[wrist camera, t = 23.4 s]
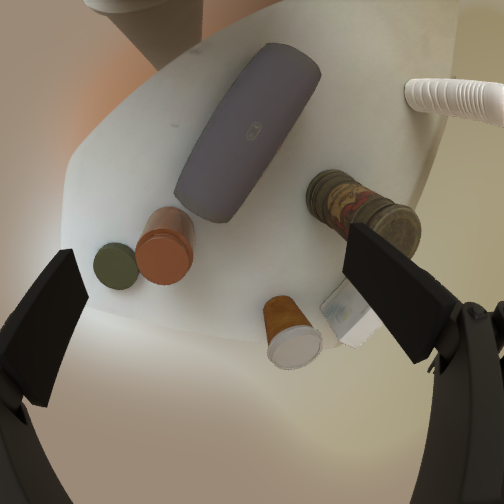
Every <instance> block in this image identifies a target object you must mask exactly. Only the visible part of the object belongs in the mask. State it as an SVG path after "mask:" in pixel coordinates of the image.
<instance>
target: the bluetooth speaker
mask: <svg viewBox="0 0 504 504" xmlns="http://www.w3.org/2000/svg"><path fill="white" fill-rule="evenodd" d="M320 78H321V72H320V69H319V67H318V65H317V64H316V63H315V62H314V61H313V60H312V59H311V58H309V57H308V56H307V55H306V54H304V53H303V52H301V51H299V50H297V49H296V48H294V47H291V46H289V45H285V44H279V43H267V44H266V45H265V46H264V47H263V48H262V49H261V50H260V51H259V52H258V53H257V54H256V55H255V56H254V57H253V59H252V60H251V61H250V62H249V64H248V65H247V66H246V67H245V69H244V70H243V71H242V73H241V74H240V75H239V77H238V78H237V79H236V81H235V82H234V83H233V85H232V86H231V88H230V89H229V90H228V92H227V93H226V95H225V96H224V98H223V99H222V101H221V102H220V104H219V105H218V107H217V108H216V110H215V112H214V113H213V115H212V116H211V118H210V120H209V121H208V123H207V125H206V126H205V128H204V130H203V132H202V134H201V135H200V137H199V139H198V141H197V143H196V144H195V146H194V148H193V150H192V152H191V154H190V156H189V158H188V160H187V162H186V164H185V166H184V168H183V170H182V173H181V175H180V177H179V179H178V182H177V185H176V187H175V190H174V195H175V197H176V198H177V199H178V200H179V201H180V202H181V204H182V205H183V206H184V207H185V208H186V209H188V210H189V211H191V212H192V213H194V214H196V215H198V216H200V217H202V218H204V219H206V220H209V221H211V222H214V223H227V222H229V221H230V220H231V218H232V217H233V216H234V215H235V213H236V212H237V211H238V209H239V208H240V207H241V205H242V204H243V202H244V201H245V199H246V198H247V196H248V195H249V193H250V192H251V190H252V189H253V187H254V186H255V184H256V183H257V181H258V180H259V178H260V177H261V175H262V174H263V172H264V171H265V169H266V168H267V166H268V165H269V163H270V162H271V160H272V159H273V157H274V156H275V154H277V152H278V150H279V149H280V147H281V145H282V143H283V141H284V140H285V138H286V137H287V135H288V134H289V132H290V130H291V129H292V127H293V125H294V124H295V122H296V121H297V119H298V117H299V116H300V114H301V112H302V111H303V109H304V107H305V106H306V104H307V102H308V101H309V99H310V97H311V96H312V94H313V92H314V91H315V89H316V87H317V85H318V82H319V81H320Z"/></svg>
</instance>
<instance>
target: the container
mask: <svg viewBox="0 0 504 504" xmlns="http://www.w3.org/2000/svg"><path fill="white" fill-rule="evenodd" d="M306 201H307V206H308V208H309V211H310V212H311V214H312V215H313V216H314V217H315V218H317V219H318V220H320V221H321V222H323V223H325V224H327V225H328V226H329V227H330V228H332V229H334V230H335V231H336V232H337V233H338V234H339V235H341V236H342V237H343V238H344V239H345V240H346V241H347V240H348V234H349V227H350V223H361V222H363V223H364V224H366V225H367V226H368V227H370V228H371V229H372V230H374V231H375V232H376V233H378V234H379V235H380V236H382V237H383V238H384V239H385V240H387V241H388V242H389V243H390V244H392V245H393V246H394V247H395V248H397V249H398V250H399V251H400V252H402V253H403V254H404V255H405V256H407V257H408V258H409V259H411V258H412V257H413V255H414V254H415V252H416V250H417V247H418V245H419V242H420V238H421V223H420V220H419V218H418V216H417V214H416V213H415V212H414V211H413V210H412V209H411V208H409V207H408V206H405V205H399V204H395V203H394V202H393V201H392V200H390V199H388V198H384V197H383V196H381V195H379V194H377V193H375V192H373V191H371V190H369V189H367V188H365V187H364V186H362V185H361V184H360V183H359V182H357V181H355V180H354V179H353V178H352V177H351V176H349V175H348V174H346V173H344V172H342V171H339V170H328V171H324V172H322V173H320V174H318V175H317V176H316V177H315V178H314V179H313V180H312V182H311V183H310V185H309V187H308V190H307V194H306Z"/></svg>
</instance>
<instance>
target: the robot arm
mask: <svg viewBox="0 0 504 504" xmlns="http://www.w3.org/2000/svg"><path fill="white" fill-rule="evenodd" d="M342 273H343V274H344V275H345V276H346V277H347V279H348V280H349V281H350V282H351V283H352V285H353V286H354V287H355V288H356V289H357V291H358V292H359V293H360V294H361V296H362V297H363V298H364V299H365V301H366V302H367V303H368V304H369V306H370V307H371V308H372V309H373V311H374V312H375V313H376V314H377V316H378V317H379V318H380V320H381V321H382V322H383V323H384V325H385V326H386V327H387V329H388V330H389V331H390V332H391V334H392V335H393V336H394V338H395V339H396V341H397V342H398V343H399V344H400V346H401V347H402V349H403V350H404V351H405V353H406V354H407V355H408V357H409V358H410V359H411V361H412V362H413V364H416V363H418V362H421V361H423V360H425V359H427V358H428V357H429V355H430V354H431V352H432V350H433V348H434V347H435V348H436V349H437V351H438V354H437V355H436V357H435V358H434V360H433V362H432V363H431V365H430V367H429V368H428V371H427V372H428V373H430V371H431V370H432V368H433V367H435V370H434V372H433V374H434V386H433V397H432V406H431V414H430V422H429V428H428V434H427V439H426V444H425V450H424V454H423V458H422V462H421V467H420V470H419V475H418V478H417V482H416V485H415V488H414V491H413V495H412V498H411V501H410V504H504V356H503V357H502V358H501V359H500V358H499V355H498V354H499V353H500V351H501V350H502V348H503V346H504V301H500V302H499V303H498V305H497V306H496V308H495V310H494V312H487V311H486V310H485V309H484V308H483V307H482V306H480V305H479V304H476V303H474V302H466V303H465V304H462V303H461V302H460V301H459V300H458V299H457V298H456V297H455V296H454V295H453V294H452V293H451V292H449V290H447V289H446V288H445V287H444V286H443V285H442V286H441V283H440V282H439V281H437V280H435V278H434V277H433V276H432V275H431V274H429V273H428V272H427V271H425V270H423V269H421V268H420V267H418V266H417V265H416V264H415V263H414V262H412V261H411V260H410V259H409V258H408V257H407V256H405V255H404V254H403V253H402V252H400V251H399V250H398V249H397V248H395V247H394V246H393V245H392V244H390V243H389V242H388V241H387V240H385V239H384V238H383V237H382V236H380V235H379V234H378V233H376V232H375V231H374V230H372V229H371V228H370V227H368V226H367V225H366V224H364V223H363V222H361V223H350V227H349V234H348V240H347V247H346V253H345V259H344V265H343V271H342ZM88 298H89V296H88V294H87V291H86V289H85V286H84V283H83V280H82V277H81V274H80V272H79V269H78V265H77V262H76V259H75V256H74V253H73V249H65V250H59V252H58V253H57V254H56V255H55V256H54V258H53V259H52V260H51V261H50V262H49V264H48V265H47V266H46V267H45V269H44V270H43V271H42V273H41V274H40V275H39V276H38V278H37V279H36V280H35V282H34V283H33V284H32V286H31V287H30V289H29V290H28V292H27V293H26V294H25V296H24V297H23V299H22V300H21V301H20V303H19V304H18V306H17V307H16V309H15V310H14V311H13V312H12V313H11V314H10V315H9V317H8V318H7V320H6V322H5V323H4V324H5V325H3V326H2V328H1V330H0V504H73V502H72V501H71V499H70V498H69V496H68V494H67V493H66V491H65V490H64V488H63V486H62V485H61V483H60V481H59V479H58V478H57V476H56V474H55V472H54V470H53V469H52V467H51V465H50V463H49V461H48V459H47V457H46V455H45V452H44V450H43V448H42V446H41V444H40V441H39V439H38V437H37V435H36V432H35V430H34V427H33V425H32V422H31V419H30V417H29V414H28V411H27V408H26V406H25V405H24V403H23V402H22V398H23V395H24V396H25V397H26V398H27V399H28V400H29V401H30V403H31V404H32V405H36V406H41V407H46V408H47V406H48V402H49V399H50V396H51V392H52V389H53V386H54V383H55V380H56V377H57V373H58V371H59V368H60V365H61V362H62V360H63V357H64V354H65V352H66V349H67V346H68V344H69V341H70V339H71V337H72V334H73V332H74V329H75V326H76V325H77V322H78V320H79V318H80V315H81V313H82V311H83V309H84V307H85V304H86V302H87V300H88Z"/></svg>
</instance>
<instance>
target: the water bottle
mask: <svg viewBox="0 0 504 504" xmlns="http://www.w3.org/2000/svg"><path fill="white" fill-rule="evenodd" d="M404 93H405V98H406V101H407V103H408V105H409V106H410V107H411V108H412V109H413V110H415V111H418V112H427V113H435V114H442V115H448V116H453V117H460V118H464V119H471V120H475V121H480V122H484V123H489V124H492V125H496V126H499V127H503V128H504V85H503V84H500V83H495V82H483V81H472V80H461V79H411V80H409V81H408V82H407V83H406V85H405V91H404Z"/></svg>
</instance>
